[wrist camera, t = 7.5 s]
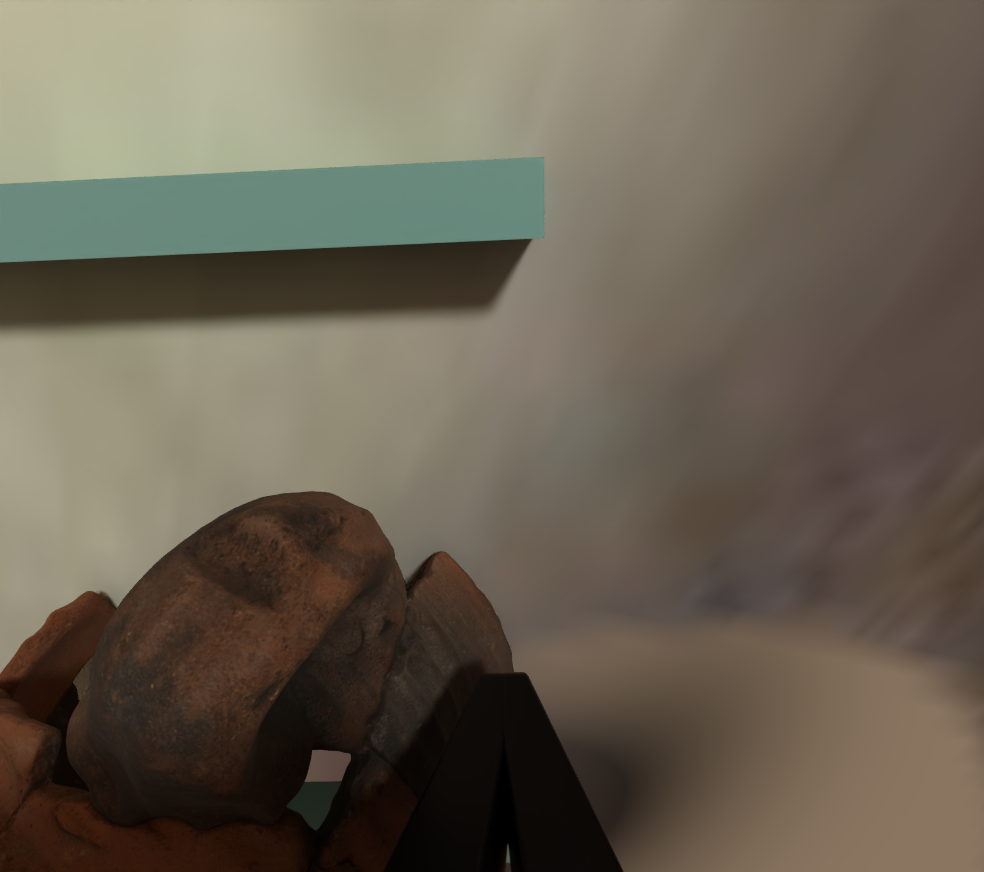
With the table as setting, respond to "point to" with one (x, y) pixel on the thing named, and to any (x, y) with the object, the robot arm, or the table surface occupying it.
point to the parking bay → (275, 230)
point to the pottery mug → (241, 700)
